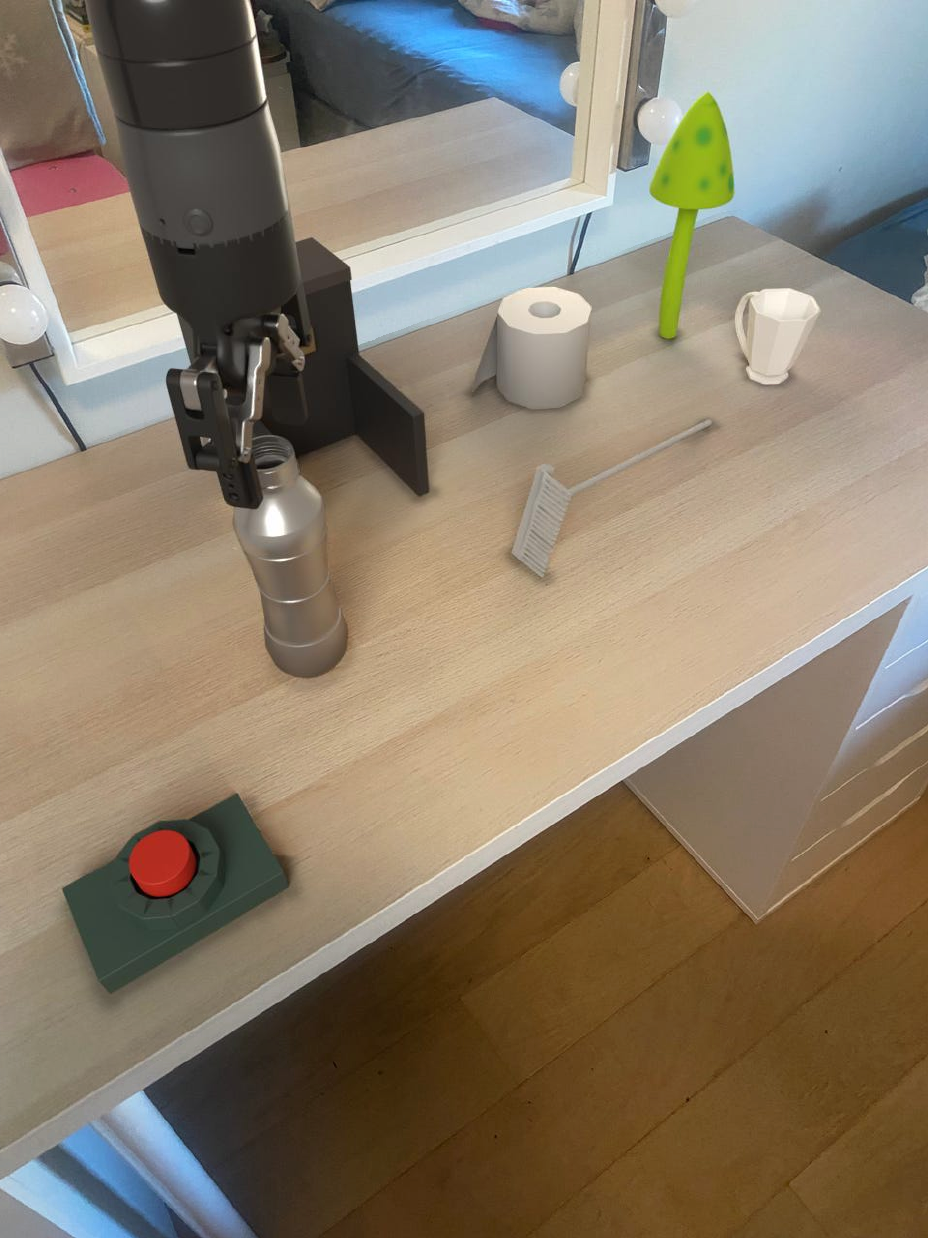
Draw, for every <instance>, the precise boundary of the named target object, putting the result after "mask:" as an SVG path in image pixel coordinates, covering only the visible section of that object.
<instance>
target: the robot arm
mask: <svg viewBox="0 0 928 1238" xmlns="http://www.w3.org/2000/svg"><path fill="white" fill-rule="evenodd" d="M84 4H85V9H86V14H87V15H86V16H87V21H88V24H89V28H90V32H91V37H92V40H93V44H94V49H95V53H96V55H97V58H98V62H99V66H100V70H101V73H102V76H103V80H104V83H105V87H106V92H107V94H108V97H109V101H110V105H111V108H112V111H113V116H114V120H115V121H114V122H115V125H116V130H117V136H118V142H119V151H120V157H121V163H122V166H123V170H124V171H123V172H124V175H125V177H126V182H127V185H128V189H129V192H130V196H131V200H132V203H133V205H134V206H133V207H134V209H135V210H134V211H135V214H136V217H137V221H138V225H139V228H140V232H141V235H142V238H143V242H144V245H145V248H146V249H145V250H146V252H147V256H148V260H149V263H150V266H151V270H152V273H153V277H154V280H155V284H156V287H157V290H158V295H159V297H160V299H161V301H162V302H163V304H164V305H165V306H166V307H167V308H168V309H169V310H170V311H171V312H173V313H175V314H176V316H177V315H179V316H180V317H181V318H182V319H183V320H185V321H186V322H187V323H188V324H189V326H190V327H191V329H192V338H193V357H194V361H193V363H192V364H191V363H190V365H189V366H188V367H187V368H175V367H171V368H169V369H168V370H167V373H166V376H165V385H166V389H167V392H168V397H169V400H170V404H171V405H170V406H171V408H172V412H173V416H174V419H175V424H176V427H177V430H178V431H177V432H178V434H179V439H180V441H181V446H182V450H183V454H184V458H185V462H186V464H187V468H188V469H189V470H195V471H206V472H216V475H217V478H218V479H217V480H218V482H219V487H220V490H221V492H222V497H223V501H224V502H225V503H226V505H229V507H230V506H231V507H233V508H234V507H239V508H247V509H258V508H259V506H260V504H261V502H262V501H263V494H262V489H261V485H260V481H259V477H258V472H257V468H256V464H255V460H254V455H253V454H251V450H252V435H253V424H254V423H255V422H256V421H258V420H259V419H260V418H261V417H262V411H263V396H264V383H265V380H266V383H267V388H268V393H269V398H270V403H271V408H272V413H273V417H274V419H275V420H276V421H277V422H278V423H281V424H290V425H298V426H301V425H303V424H304V423H305V421H306V420H307V418H308V410H307V404H306V398H305V393H304V387H303V381H302V375H301V372H300V371H302V370H303V368H304V365H305V357H304V353H303V352H302V351H301V350H302V347H310V345H311V342H312V331H311V325H310V320H309V314H308V309H307V304H306V298H305V293H304V287H303V282H302V276H301V271H300V265H299V261H298V256H297V250H296V243H295V242H296V237H295V232H294V225H293V218H292V212H291V208H290V207H291V206H290V200H289V193H288V188H287V180H286V175H285V174H286V173H285V169H284V161H283V155H282V150H281V145H280V141H279V138H278V134H277V130H276V127H275V124H274V121H273V117H272V114H271V113H272V112H271V109H270V105H269V99H268V97H267V89H266V83H265V77H264V70H263V64H262V58H261V51H260V46H259V40H258V33H257V28H256V22H255V17H254V13H253V12H254V11H253V7H252V3H251V0H84ZM284 315H290V316H292V317H293V318H294V319H295V323H296V326H289V325H288V322H289V321H288V319H287V318H286V317H285V316H284ZM227 393H233V394H242V395H246V400H245V402H244V403H243V404H242V405H230V404H226V403H225V398H226V397H227ZM229 418H233V419H235V420H236V422H237V428H236V440H233V435H232V431H231V426H230V421H229ZM201 438H202V440H201Z"/></svg>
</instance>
